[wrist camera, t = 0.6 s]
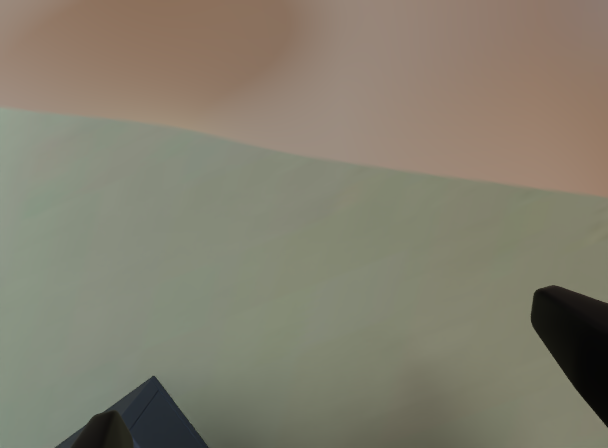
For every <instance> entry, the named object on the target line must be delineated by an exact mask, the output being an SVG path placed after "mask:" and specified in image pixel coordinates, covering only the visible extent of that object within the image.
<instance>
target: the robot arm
mask: <svg viewBox="0 0 608 448" xmlns="http://www.w3.org/2000/svg"><path fill="white" fill-rule="evenodd" d="M531 323H532V325H533V328H534V329H535V331H536V332H537V334H538V335H539V337H540V338H541V340H542V341H543V343H544V344H545V345H546V347H547V348H548V350H549V351H550V353H551V354H552V356H553V357H554V359H555V360H556V361H557V363H558V364H559V366H560V367H561V369H562V370H563V372H564V373H565V375H566V376H567V378H568V379H569V380H570V382H571V383H572V384H573V386H574V387H575V389H576V390H577V391H578V392H579V394H580V395H581V396H582V397H583V399H584V400H585V401H586V402H587V403H588V405H589V406H590V407H591V408H592V409H593V411H594V412H595V413H596V414H597V415H598V416H599V418H600V419H601V420H602V421H603V422H604V424H605V425H606V426H607V427H608V303H605V302H602V301H599V300H596V299H593V298H591V297H588V296H585V295H582V294H579V293H576V292H573V291H571V290H568V289H565V288H562V287H559V286H555V285H552V286H548V287H544V288H540V289H538V290H536V291H535V293H534V296H533V303H532V311H531ZM70 448H134V444H133V438H132V435H131V433H130V431H129V430H128V428H127V426H126V424H125V422H124V421H123V419H122V417H121V415H120V414H119V412H118V411H116V410H110V411H107V412H103V413H100V414H96V415H95V416H93V417H92V418H91V419H90V421H89V422H88V423H87V425H86V426H85V428H84V429H83V430H82V432H81V433H80V434H79V436H78V437H77V438H76V440H75V441H74V443H73V444H72V445H71V447H70Z"/></svg>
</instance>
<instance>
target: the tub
mask: <svg viewBox="0 0 608 448" xmlns="http://www.w3.org/2000/svg"><path fill="white" fill-rule="evenodd" d="M110 410H116V411H118V412H119V414H120V415H121V417H122V419H123V421H124V422H125V424H126V426H127V428H128V430H129V431H130V433H131V435H132V438H133V444H134V448H208V446H207V445H206V444H205V442H204V441H203V440H202V438H201V437H200V436H199V434H198V433H197V432H196V430H195V429H194V428H193V426H192V425H191V424H190V422H189V421H188V420H187V418H186V417H185V416H184V414H183V413H182V412H181V410H180V409H179V408H178V406H177V405H176V404H175V402H174V401H173V400H172V398H171V397H170V396H169V394H168V393H167V392H166V390H165V389H164V388H163V387H162V385H161V384H160V383H159V381H158V380H157V379H156V377H155V376H152V377H151V378H150V379H148V380H147V381H146V382H144V383H143V384H141V385H140V386H139V387H137V388H136V389H135V390H133V391H132V392H130V393H129V394H128V395H126V396H125V397H124V398H122V399H121V400H120V401H118V402H117V403H115V404H114V405H113V406H111V407H110V408H109V409H107V410H106V411H104V412H107V411H110ZM85 426H86V425H85ZM85 426H84V427H83V428H81V429H80V430H78V431H77V432H76V433H74V434H73V435H72V436H70V437H69V438H67V439H66V440H65V441H63V442H62V443H61V444H59V445H58V446H56V447H55V448H70V447H71V445H72V444H73V443H74V441H75V440H76V438H77V437H78V436H79V434H80V433H81V432H82V430H83V429H84V428H85Z"/></svg>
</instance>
